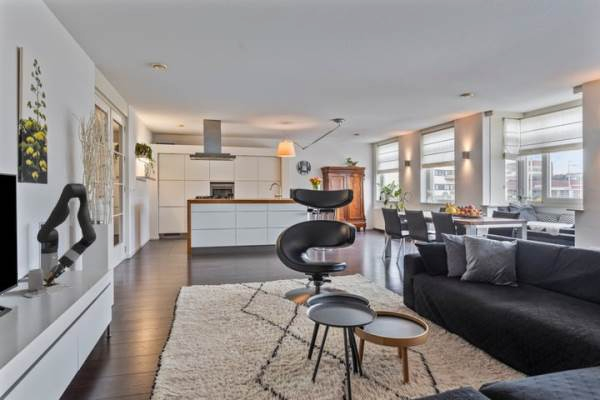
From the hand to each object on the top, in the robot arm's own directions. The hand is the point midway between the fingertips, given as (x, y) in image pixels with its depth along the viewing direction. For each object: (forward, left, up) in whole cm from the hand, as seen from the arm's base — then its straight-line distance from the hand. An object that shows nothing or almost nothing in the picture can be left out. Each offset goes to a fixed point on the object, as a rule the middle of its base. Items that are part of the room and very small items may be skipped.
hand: (46, 282), depth 207 cm
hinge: (+1, +2, -6) cm, 6 cm away
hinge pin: (+1, +2, -5) cm, 5 cm away
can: (-12, +1, -6) cm, 14 cm away
